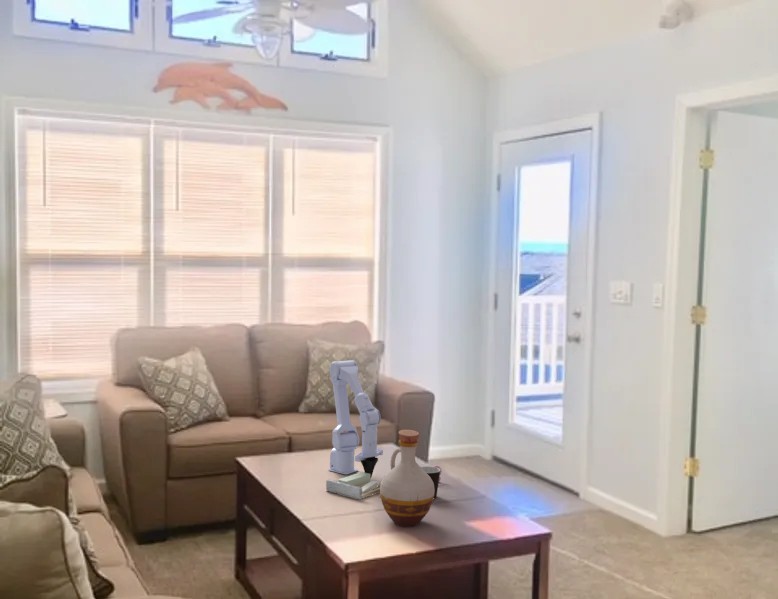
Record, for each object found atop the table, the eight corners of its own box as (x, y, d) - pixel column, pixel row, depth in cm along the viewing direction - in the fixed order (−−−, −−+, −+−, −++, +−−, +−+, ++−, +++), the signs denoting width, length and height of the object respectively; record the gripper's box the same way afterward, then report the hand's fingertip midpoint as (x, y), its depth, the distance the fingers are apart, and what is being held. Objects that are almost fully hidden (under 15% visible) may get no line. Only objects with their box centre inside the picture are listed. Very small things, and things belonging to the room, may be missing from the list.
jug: (366, 516, 269) (369, 427, 267) (412, 509, 278) (415, 422, 276) (396, 535, 252) (398, 440, 250) (444, 527, 260) (447, 435, 259)
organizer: (326, 491, 295) (326, 480, 295) (355, 481, 309) (355, 471, 308) (359, 499, 286) (359, 488, 286) (387, 489, 299) (387, 478, 299)
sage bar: (337, 490, 298) (337, 479, 298) (362, 482, 309) (362, 471, 309) (346, 492, 295) (346, 481, 295) (370, 484, 306) (370, 473, 306)
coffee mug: (444, 497, 292) (445, 469, 291) (429, 502, 286) (429, 474, 285) (420, 489, 300) (420, 463, 299) (404, 494, 294) (405, 467, 293)
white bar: (356, 497, 291) (356, 490, 290) (372, 486, 303) (372, 480, 303) (362, 497, 290) (362, 491, 289) (378, 487, 303) (378, 481, 302)
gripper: (365, 446, 299) (364, 482, 300) (389, 439, 311) (388, 474, 312) (351, 443, 303) (350, 479, 304) (375, 436, 315) (374, 471, 316)
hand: (368, 476), depth 308 cm, fingers closed
